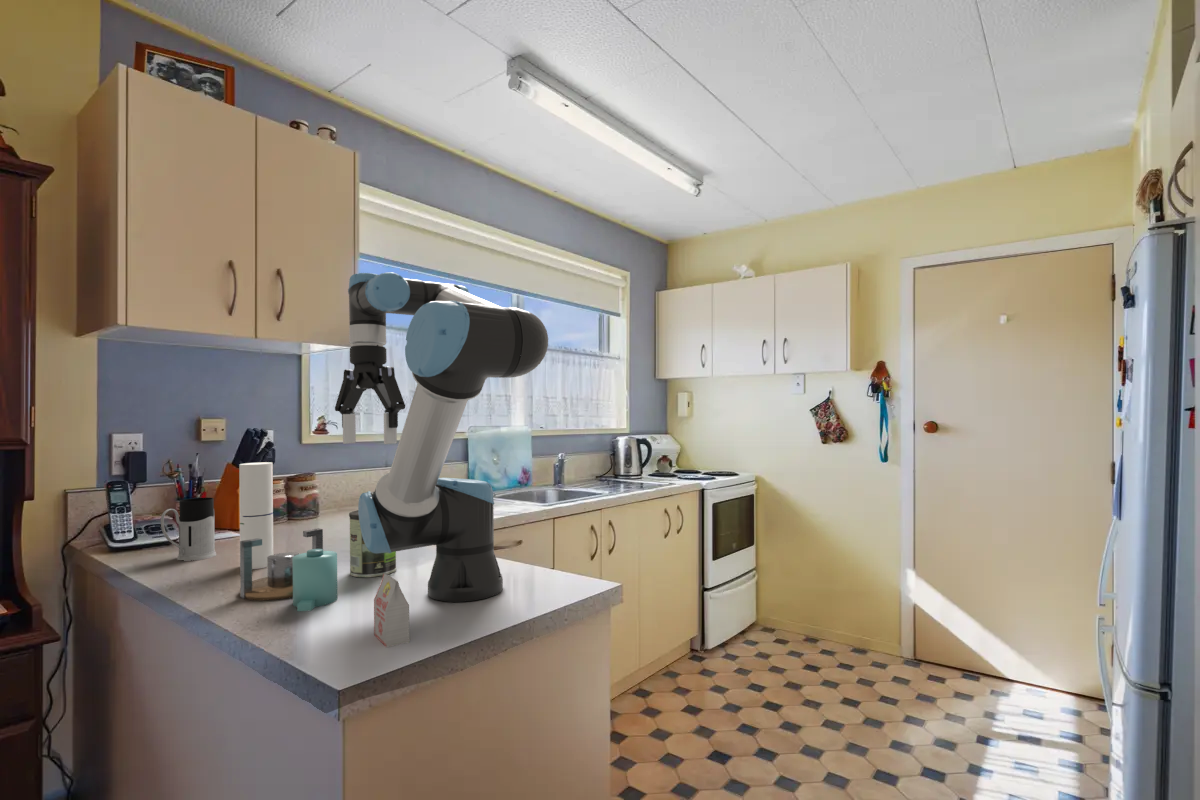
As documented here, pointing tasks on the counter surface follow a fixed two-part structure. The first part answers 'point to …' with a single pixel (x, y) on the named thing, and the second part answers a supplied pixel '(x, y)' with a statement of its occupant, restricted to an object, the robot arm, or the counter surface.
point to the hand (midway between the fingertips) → (369, 443)
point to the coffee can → (367, 554)
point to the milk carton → (391, 613)
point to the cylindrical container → (257, 509)
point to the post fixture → (271, 570)
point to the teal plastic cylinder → (314, 579)
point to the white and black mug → (194, 529)
